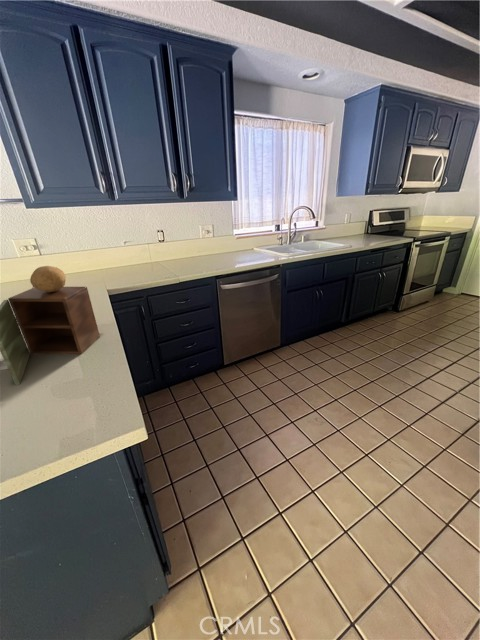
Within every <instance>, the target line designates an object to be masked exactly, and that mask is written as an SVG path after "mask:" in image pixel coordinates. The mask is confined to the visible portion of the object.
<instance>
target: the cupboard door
mask: <svg viewBox="0 0 480 640" xmlns="http://www.w3.org/2000/svg"><path fill="white" fill-rule="evenodd" d="M0 354H1V356H2V358H3V360H0V371H2V370H8V371H9V374H10V376H11V378H12V381H13V382H14V385H15V386H18V385H20V384H21V382H22V379H23V376H24V374H25V370H26V367H27V365H28V362H29V359H30V356H31V353H30V352H29V349H28V347H27V344H26V342H25V339H24V337H23V334H22V332H21V329H20V327H19V325H18V322H17V320H16V317H15V315H14V312H13V310H12V307H11V305H10V302H9V300H8V299H3V301H2V302H1V303H0Z"/></svg>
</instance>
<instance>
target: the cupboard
mask: <svg viewBox="0 0 480 640" xmlns="http://www.w3.org/2000/svg"><path fill="white" fill-rule="evenodd" d="M7 300H8V301H9V303H10V306H11V308H12V311H13V313H14V315H15V318H16V320H17V323H18V325H19V328H20V330H21V333H22V335H23V338H24V340H25V343H26V345H27V348H28V350H29V353H30V354H34V355H35V354H36V355H37V354H39V355H41V354H45V355H46V354H47V355H48V354H49V355H50V354H51V355H83V354H84V353H85V352H86V351H87V350H88V349H89V348H90V347H91V346H92V345H93V344H95V343H96V342H97V341H98V340H99V339H100V338H101V335H100V331H99V328H98V324H97V320H96V317H95V313H94V308H93V305H92V301H91V297H90V293H89V290H88V286H63V287H62V288H61V289H60V290H58V291H54V292H46V291H40V290H38V289H36V288H32V287H31V288H30V289H27V290H25V291H23V292H20V293H17V294H15V295H13V296H10V297H8V298H7Z"/></svg>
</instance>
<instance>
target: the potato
mask: <svg viewBox="0 0 480 640" xmlns="http://www.w3.org/2000/svg"><path fill="white" fill-rule="evenodd" d="M29 278H30V280H29V282H30V284H31V287H34V288H36V289H38V290H40V291H46V292H54V291H58V290H60V289H61V288H62V287H65V286H66V281H67V276H66V274H65V272H64V271H63V269H61V268H58V267H57V266H52V265H44V266H39V267H37V268H36V269H35V270H33V272H32V274H31V275H30V277H29Z"/></svg>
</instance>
